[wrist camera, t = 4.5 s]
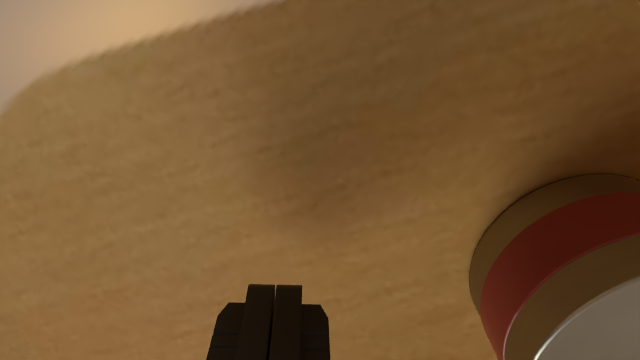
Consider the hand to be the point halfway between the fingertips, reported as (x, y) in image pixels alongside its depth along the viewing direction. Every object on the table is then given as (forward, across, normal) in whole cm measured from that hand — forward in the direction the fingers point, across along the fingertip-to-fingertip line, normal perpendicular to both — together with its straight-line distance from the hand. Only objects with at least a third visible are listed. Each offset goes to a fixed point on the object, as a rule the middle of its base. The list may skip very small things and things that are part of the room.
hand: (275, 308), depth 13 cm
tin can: (+2, -10, 0) cm, 10 cm away
